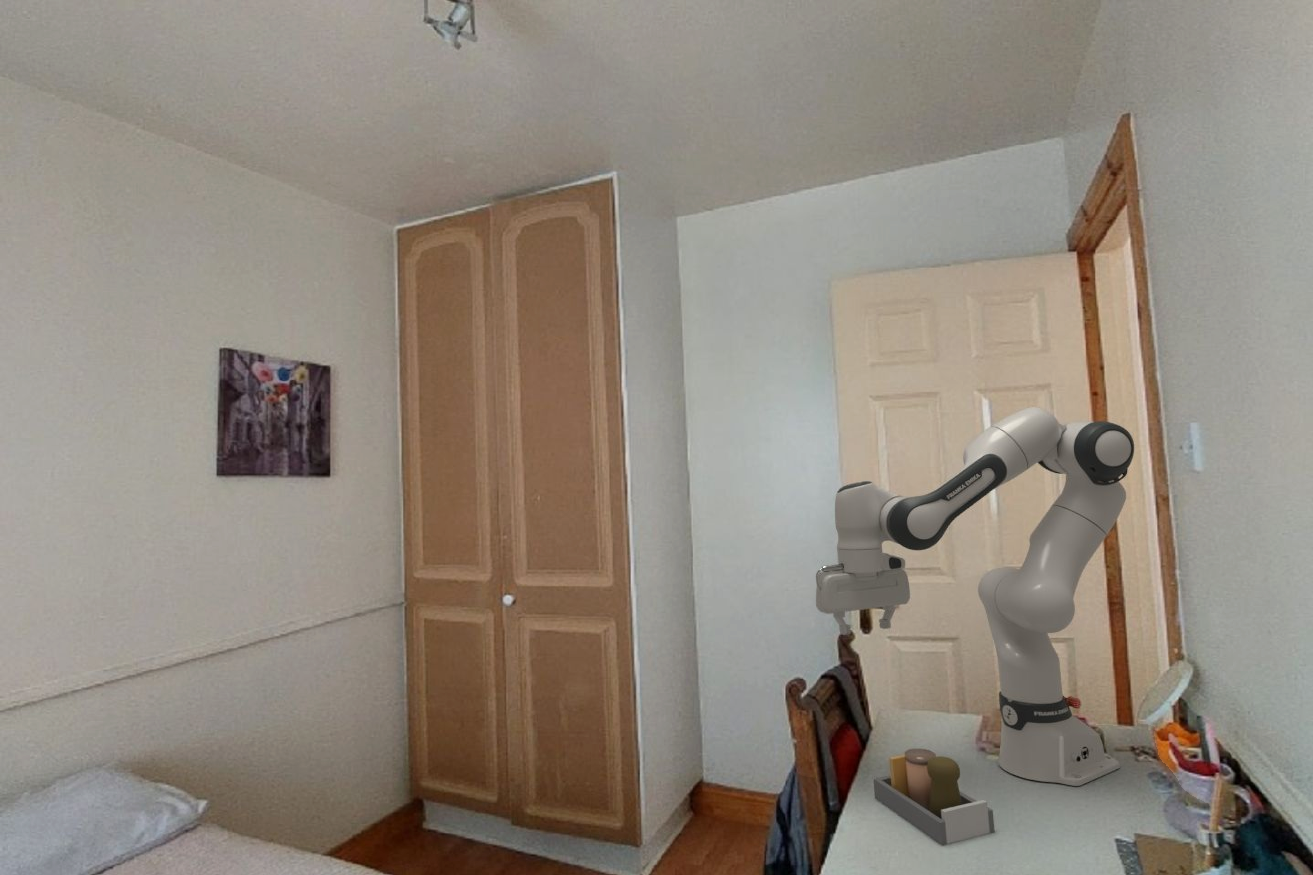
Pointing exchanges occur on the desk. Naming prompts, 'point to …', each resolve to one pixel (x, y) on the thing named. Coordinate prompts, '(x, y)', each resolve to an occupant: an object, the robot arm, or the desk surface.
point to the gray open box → (953, 825)
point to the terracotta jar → (919, 776)
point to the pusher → (899, 774)
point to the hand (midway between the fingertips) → (865, 630)
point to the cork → (943, 784)
